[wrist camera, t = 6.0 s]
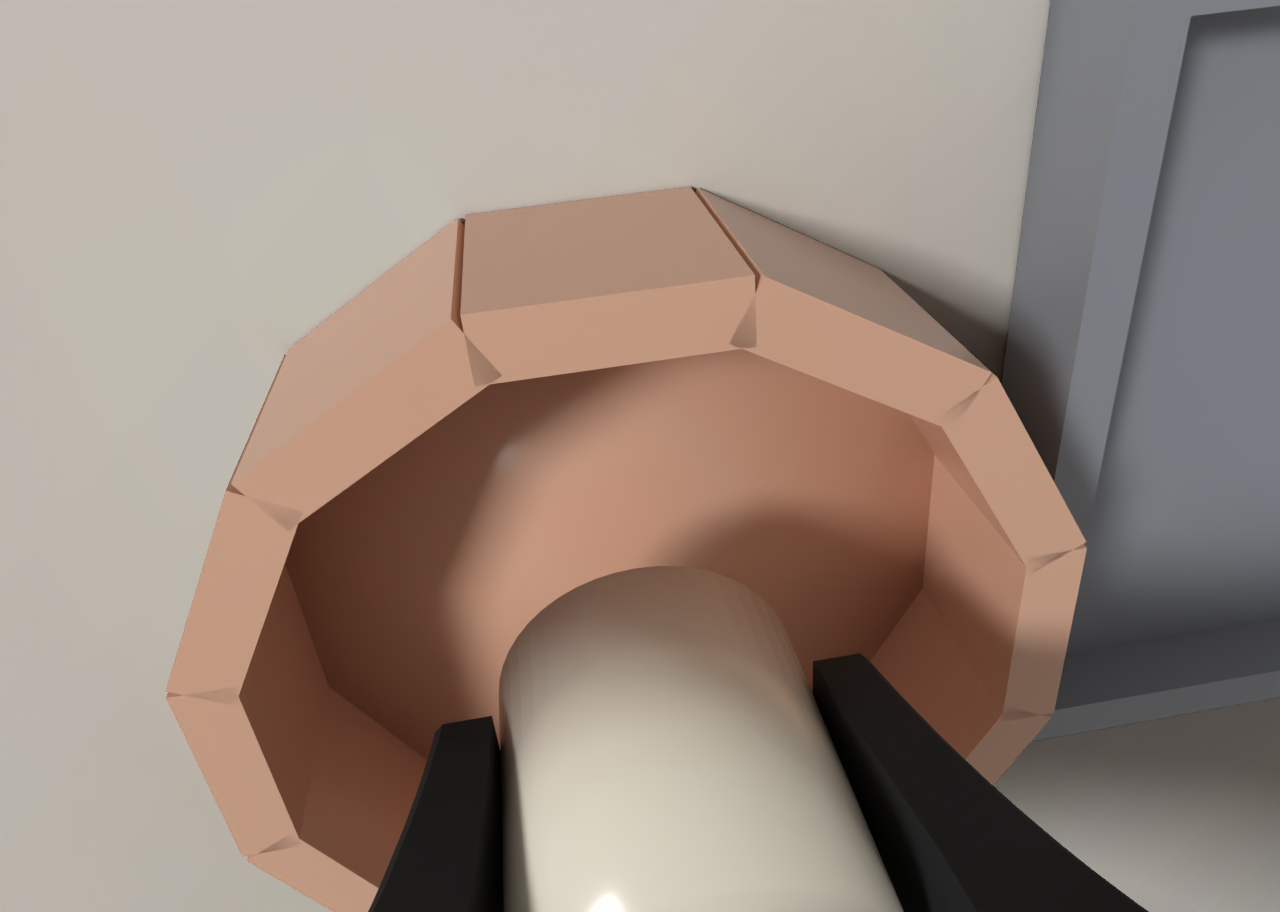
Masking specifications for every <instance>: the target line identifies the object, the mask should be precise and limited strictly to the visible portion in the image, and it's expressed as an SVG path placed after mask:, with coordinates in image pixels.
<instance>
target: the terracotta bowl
mask: <svg viewBox="0 0 1280 912" xmlns="http://www.w3.org/2000/svg"><path fill="white" fill-rule="evenodd" d="M1085 542H1086V540H1085V538H1084V537H1083V535H1082V533H1081V531H1080V529H1079V527H1078V525H1077V524H1076V522H1075V520H1074V518H1073V516H1072V514H1071V512H1070V511H1069V509H1068V507H1067V505H1066V503H1065V501H1064V500H1063V498H1062V496H1061V494H1060V492H1059V490H1058V488H1057V487H1056V485H1055V483H1054V481H1053V479H1052V477H1051V475H1050V474H1049V472H1048V470H1047V468H1046V466H1045V464H1044V463H1043V461H1042V459H1041V457H1040V455H1039V453H1038V451H1037V450H1036V448H1035V446H1034V444H1033V442H1032V440H1031V439H1030V437H1029V435H1028V433H1027V431H1026V429H1025V427H1024V426H1023V424H1022V422H1021V420H1020V418H1019V416H1018V414H1017V413H1016V411H1015V409H1014V407H1013V405H1012V403H1011V402H1010V400H1009V398H1008V396H1007V394H1006V392H1005V390H1004V389H1003V387H1002V385H1001V383H1000V381H999V379H998V378H997V377H996V376H995V375H994V374H993V373H992V372H991V371H990V370H989V369H988V368H987V367H986V366H984V365H983V364H982V363H981V362H980V361H979V360H978V359H977V358H976V357H975V356H974V355H973V354H971V353H970V352H969V351H968V350H967V349H966V348H965V347H964V346H963V345H962V344H961V343H960V342H959V341H957V340H956V339H955V338H954V337H953V336H952V335H951V334H950V333H949V332H948V331H947V330H946V329H944V328H943V327H942V326H941V325H940V324H939V323H938V322H937V321H936V320H935V319H934V318H933V317H931V316H930V315H929V314H928V313H927V312H926V311H925V310H924V309H923V308H922V307H921V306H920V305H918V304H917V303H916V302H915V301H914V300H913V299H912V298H911V297H910V296H909V295H908V294H907V293H905V292H904V291H903V290H902V289H901V288H900V287H899V286H898V285H897V284H896V283H895V282H894V281H892V280H891V279H890V278H889V277H888V276H887V275H886V274H885V273H884V272H883V271H881V270H880V269H879V268H877V267H874V266H872V265H870V264H868V263H865V262H863V261H861V260H859V259H857V258H854V257H852V256H850V255H848V254H845V253H843V252H841V251H839V250H836V249H834V248H832V247H830V246H827V245H825V244H823V243H821V242H819V241H816V240H814V239H812V238H810V237H807V236H805V235H803V234H801V233H798V232H796V231H794V230H792V229H790V228H787V227H785V226H783V225H781V224H778V223H776V222H774V221H772V220H769V219H767V218H765V217H763V216H760V215H758V214H756V213H754V212H752V211H749V210H747V209H745V208H743V207H740V206H738V205H736V204H734V203H731V202H729V201H727V200H725V199H722V198H720V197H718V196H716V195H714V194H711V193H709V192H707V191H705V190H702V189H700V188H697V190H696V192H694V191H693V190H692V188H691V187H690V186H689V187H681V188H673V189H665V190H657V191H649V192H641V193H633V194H625V195H617V196H609V197H601V198H594V199H586V200H578V201H570V202H562V203H554V204H546V205H538V206H530V207H522V208H514V209H507V210H499V211H491V212H483V213H475V214H467V215H465V225H464V224H463V223H462V222H461V221H460V219H459V218H457V219H456V220H454V221H453V222H452V223H451V224H449V225H448V226H447V227H445V228H444V229H443V230H442V231H440V232H439V233H438V234H436V235H435V236H434V237H433V238H431V239H430V240H429V241H427V242H426V243H425V244H424V245H422V246H421V247H420V248H418V249H417V250H416V251H415V252H413V253H412V254H411V255H409V256H408V257H407V258H405V259H404V260H403V261H402V262H400V263H399V264H398V265H396V266H395V267H394V268H393V269H391V270H390V271H389V272H387V273H386V274H385V275H384V276H382V277H381V278H380V279H378V280H377V281H376V282H375V283H373V284H372V285H371V286H369V287H368V288H367V289H366V290H364V291H363V292H362V293H360V294H359V295H358V296H357V297H355V298H354V299H353V300H351V301H350V302H349V303H348V304H346V305H345V306H344V307H342V308H341V309H340V310H338V311H337V312H336V313H335V314H333V315H332V316H331V317H329V318H328V319H327V320H326V321H324V322H323V323H322V324H320V325H319V326H318V327H317V328H315V329H314V330H313V331H311V332H310V333H309V334H308V335H306V336H305V337H304V338H302V339H301V340H300V341H299V342H297V343H296V344H295V345H293V346H292V347H291V348H290V349H289V350H288V352H287V354H286V355H284V358H283V360H282V362H281V365H280V367H279V369H278V372H277V374H276V376H275V379H274V381H273V383H272V385H271V388H270V390H269V392H268V395H267V397H266V399H265V402H264V404H263V406H262V408H261V411H260V413H259V415H258V418H257V420H256V422H255V425H254V427H253V429H252V432H251V434H250V436H249V438H248V441H247V443H246V445H245V448H244V450H243V452H242V455H241V457H240V459H239V461H238V464H237V466H236V468H235V471H234V473H233V475H232V478H231V480H230V482H229V484H228V487H227V489H226V492H225V495H224V498H223V502H222V505H221V508H220V512H219V515H218V518H217V522H216V525H215V528H214V532H213V535H212V538H211V542H210V545H209V548H208V552H207V555H206V558H205V562H204V565H203V568H202V572H201V575H200V578H199V582H198V585H197V588H196V592H195V595H194V598H193V601H192V605H191V608H190V611H189V615H188V618H187V621H186V625H185V628H184V631H183V635H182V638H181V641H180V645H179V648H178V651H177V655H176V658H175V661H174V665H173V668H172V671H171V675H170V678H169V681H168V685H167V688H166V691H165V692H168V694H167V697H166V699H167V701H168V703H169V705H170V707H171V709H172V711H173V713H174V716H175V718H176V720H177V722H178V724H179V726H180V728H181V730H182V732H183V734H184V736H185V738H186V740H187V743H188V745H189V747H190V749H191V751H192V753H193V755H194V757H195V759H196V761H197V763H198V765H199V767H200V769H201V772H202V774H203V776H204V778H205V780H206V782H207V784H208V786H209V788H210V790H211V792H212V794H213V796H214V799H215V801H216V803H217V805H218V807H219V809H220V811H221V813H222V815H223V817H224V819H225V821H226V823H227V825H228V828H229V830H230V832H231V834H232V836H233V838H234V840H235V842H236V844H237V846H238V848H239V850H240V852H241V854H242V857H243V856H248V858H247V861H248V862H250V863H251V864H253V865H255V866H256V867H258V868H260V869H261V870H263V871H265V872H267V873H268V874H270V875H272V876H273V877H275V878H277V879H278V880H280V881H282V882H283V883H285V884H287V885H289V886H290V887H292V888H294V889H295V890H297V891H299V892H300V893H302V894H304V895H306V896H307V897H309V898H311V899H312V900H314V901H316V902H317V903H319V904H321V905H323V906H324V907H326V908H328V909H329V910H331V911H333V912H368V911H369V909H370V907H371V904H372V902H373V900H374V898H375V896H376V893H377V891H378V889H379V887H380V884H381V882H382V879H383V877H384V875H385V872H386V870H387V867H388V865H389V862H390V860H391V858H392V855H393V853H394V850H395V848H396V845H397V843H398V841H399V838H400V836H401V833H402V831H403V828H404V826H405V823H406V820H407V818H408V815H409V812H410V809H411V807H412V804H413V801H414V799H415V796H416V793H417V790H418V787H419V784H420V781H421V778H422V775H423V772H424V769H425V766H426V763H427V759H428V756H429V753H430V749H431V745H432V742H433V738H434V734H435V732H436V731H437V730H438V729H439V727H440V726H441V725H442V724H447V723H453V722H459V721H464V720H470V719H476V718H482V717H488V716H492V718H493V722H494V727H495V731H496V735H497V739H498V744H499V748H500V737H499V680H500V676H501V671H502V667H503V664H504V662H505V659H506V657H507V654H508V652H509V650H510V648H511V647H512V645H513V643H514V642H515V640H516V638H517V637H518V635H519V634H520V633H521V632H522V630H523V629H524V628H525V627H526V625H527V624H528V623H529V622H530V621H531V620H532V619H533V618H534V617H535V616H536V615H537V614H538V613H539V612H540V611H541V610H543V609H544V608H545V607H547V606H548V605H549V604H551V603H552V602H553V601H555V600H556V599H557V598H559V597H560V596H562V595H564V594H566V593H567V592H569V591H571V590H573V589H574V588H576V587H578V586H581V585H583V584H585V583H587V582H590V581H592V580H594V579H597V578H600V577H603V576H606V575H609V574H612V573H616V572H621V571H625V570H630V569H635V568H644V567H653V566H680V567H688V568H697V569H701V570H706V571H710V572H714V573H717V574H720V575H723V576H726V577H728V578H731V579H733V580H735V581H737V582H739V583H741V584H743V585H745V586H747V587H748V588H750V589H751V590H753V591H754V592H755V593H757V594H758V595H759V596H761V597H762V598H763V599H764V600H765V601H766V602H767V603H768V604H769V605H770V606H771V607H772V608H773V610H774V611H775V612H776V614H777V615H778V617H779V618H780V619H781V621H782V623H783V625H784V627H785V629H786V632H787V634H788V636H789V638H790V641H791V643H792V646H793V648H794V650H795V653H796V655H797V658H798V660H799V662H800V665H801V667H802V669H803V672H804V674H805V677H806V679H807V681H808V684H809V686H810V689H811V691H812V693H813V661H818V660H823V659H829V658H835V657H841V656H847V655H853V654H859V653H860V654H861V655H863V656H864V657H866V658H867V659H868V660H869V661H870V662H871V663H872V664H873V665H874V667H875V668H876V669H877V670H878V671H879V672H880V673H881V674H882V675H883V676H884V677H885V679H886V680H887V681H888V682H889V683H890V684H891V685H892V686H893V687H894V688H895V689H896V690H897V691H898V693H899V694H900V695H901V696H902V697H903V698H904V699H905V700H906V701H907V702H908V703H909V704H910V705H911V706H912V707H913V708H914V709H915V710H916V711H917V712H918V713H919V714H920V715H921V716H922V717H923V718H924V720H925V721H926V722H927V723H928V724H929V725H930V726H931V727H932V728H933V729H934V730H935V731H936V732H937V733H938V734H939V735H940V736H941V737H942V738H943V739H944V740H945V741H946V742H947V743H948V744H949V745H950V746H951V747H953V748H954V749H955V750H956V751H957V752H958V753H959V754H960V755H961V756H962V757H963V758H964V759H965V760H966V761H967V762H968V763H969V764H970V765H972V766H973V767H974V768H975V769H976V770H977V771H978V772H979V773H980V774H981V775H982V776H983V777H984V778H985V779H986V780H987V781H989V782H990V783H991V784H992V785H994V784H995V783H996V782H997V780H998V779H999V778H1000V777H1001V776H1002V775H1003V774H1004V772H1005V771H1006V770H1007V769H1008V768H1009V767H1010V765H1011V764H1012V763H1013V762H1014V761H1015V760H1016V758H1017V757H1018V756H1019V755H1020V754H1021V753H1022V751H1023V750H1024V749H1025V748H1026V747H1027V746H1028V744H1029V743H1030V742H1031V741H1032V740H1033V739H1034V737H1035V736H1036V735H1037V734H1038V733H1039V732H1040V730H1041V729H1042V728H1043V727H1044V726H1045V725H1046V723H1047V722H1048V721H1049V720H1050V719H1051V717H1050V715H1049V713H1054V710H1055V705H1056V700H1057V695H1058V690H1059V685H1060V680H1061V675H1062V670H1063V665H1064V660H1065V655H1066V650H1067V645H1068V640H1069V635H1070V630H1071V625H1072V620H1073V615H1074V610H1075V605H1076V600H1077V596H1078V591H1079V586H1080V581H1081V576H1082V571H1083V566H1084V561H1085V556H1086V551H1087V547H1086V546H1085V545H1084V543H1085Z"/></svg>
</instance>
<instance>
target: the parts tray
mask: <svg viewBox="0 0 1280 912" xmlns="http://www.w3.org/2000/svg"><path fill="white" fill-rule="evenodd" d="M1001 385H1002V387H1003V389H1004V390H1005V392H1006V394H1007V396H1008V398H1009V400H1010V402H1011V403H1012V405H1013V407H1014V409H1015V411H1016V413H1017V414H1018V416H1019V418H1020V420H1021V422H1022V424H1023V426H1024V427H1025V429H1026V431H1027V433H1028V435H1029V437H1030V439H1031V440H1032V442H1033V444H1034V446H1035V448H1036V450H1037V451H1038V453H1039V455H1040V457H1041V459H1042V461H1043V463H1044V464H1045V466H1046V468H1047V470H1048V472H1049V474H1050V475H1051V477H1052V479H1053V481H1054V483H1055V485H1056V487H1057V488H1058V490H1059V492H1060V494H1061V496H1062V498H1063V500H1064V501H1065V503H1066V505H1067V507H1068V509H1069V511H1070V512H1071V514H1072V516H1073V518H1074V520H1075V522H1076V524H1077V525H1078V527H1079V529H1080V531H1081V533H1082V535H1083V537H1084V538H1085V540H1086V542H1085V543H1084V545H1085V546H1086V547H1087V551H1086V556H1085V561H1084V566H1083V571H1082V576H1081V581H1080V586H1079V591H1078V596H1077V600H1076V605H1075V610H1074V615H1073V620H1072V625H1071V630H1070V635H1069V640H1068V645H1067V650H1066V655H1065V660H1064V665H1063V670H1062V675H1061V680H1060V685H1059V690H1058V695H1057V700H1056V705H1055V710H1054V713H1049V715H1050V717H1051V719H1050V720H1049V721H1048V722H1047V723H1046V725H1045V726H1044V727H1043V728H1042V729H1041V730H1040V732H1039V733H1038V734H1037V735H1036V736H1035V737H1034V739H1033V740H1032V741H1038V740H1043V739H1049V738H1054V737H1060V736H1065V735H1071V734H1077V733H1082V732H1088V731H1093V730H1099V729H1104V728H1110V727H1116V726H1121V725H1127V724H1132V723H1138V722H1143V721H1149V720H1155V719H1160V718H1166V717H1171V716H1177V715H1182V714H1188V713H1194V712H1199V711H1205V710H1210V709H1216V708H1221V707H1227V706H1233V705H1238V704H1244V703H1249V702H1255V701H1260V700H1266V699H1272V698H1277V697H1280V0H1050V8H1049V16H1048V24H1047V32H1046V39H1045V47H1044V55H1043V63H1042V71H1041V78H1040V86H1039V94H1038V102H1037V110H1036V118H1035V125H1034V133H1033V141H1032V149H1031V157H1030V164H1029V172H1028V180H1027V188H1026V196H1025V204H1024V211H1023V219H1022V227H1021V235H1020V243H1019V251H1018V258H1017V266H1016V274H1015V282H1014V290H1013V297H1012V305H1011V313H1010V321H1009V329H1008V337H1007V344H1006V352H1005V360H1004V368H1003V376H1002V383H1001ZM1032 741H1031V742H1032Z"/></svg>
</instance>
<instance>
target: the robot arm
mask: <svg viewBox="0 0 1280 912" xmlns="http://www.w3.org/2000/svg"><path fill="white" fill-rule="evenodd" d="M813 696H814V698H815V700H816V703H817V705H818V708H819V710H820V712H821V715H822V717H823V720H824V722H825V724H826V727H827V729H828V732H829V734H830V736H831V739H832V741H833V743H834V746H835V748H836V751H837V753H838V755H839V758H840V760H841V763H842V765H843V767H844V770H845V772H846V775H847V777H848V779H849V782H850V784H851V786H852V789H853V791H854V794H855V796H856V798H857V801H858V803H859V806H860V808H861V810H862V813H863V815H864V817H865V820H866V822H867V825H868V827H869V829H870V832H871V834H872V837H873V839H874V841H875V844H876V846H877V849H878V851H879V853H880V856H881V858H882V860H883V863H884V865H885V868H886V870H887V872H888V875H889V877H890V880H891V882H892V884H893V887H894V889H895V891H896V894H897V896H898V899H899V901H900V903H901V906H902V908H903V911H904V912H1148V911H1147V910H1145V909H1144V908H1143V907H1141V906H1140V905H1138V904H1137V903H1136V902H1134V901H1133V900H1132V899H1130V898H1129V897H1128V896H1126V895H1125V894H1124V893H1122V892H1121V891H1120V890H1118V889H1117V888H1116V887H1114V886H1113V885H1112V884H1110V883H1109V882H1108V881H1106V880H1105V879H1104V878H1102V877H1101V876H1100V875H1098V874H1097V873H1096V872H1095V871H1093V870H1092V869H1091V868H1089V867H1088V866H1087V865H1086V864H1084V863H1083V862H1082V861H1081V860H1079V859H1078V858H1077V857H1076V856H1074V855H1073V854H1072V853H1071V852H1069V851H1068V850H1067V849H1066V848H1064V847H1063V846H1062V845H1061V844H1060V843H1058V842H1057V841H1056V840H1055V839H1053V838H1052V837H1051V836H1050V835H1049V834H1048V833H1046V832H1045V831H1044V830H1043V829H1042V828H1041V827H1039V826H1038V825H1037V824H1036V823H1035V822H1034V821H1032V820H1031V819H1030V818H1029V817H1028V816H1027V815H1025V814H1024V813H1023V812H1022V811H1021V810H1020V809H1018V808H1017V807H1016V806H1015V805H1014V804H1013V803H1012V802H1011V801H1009V800H1008V799H1007V798H1006V797H1005V796H1004V795H1003V794H1002V793H1000V792H999V791H998V790H997V789H996V788H995V787H994V786H993V785H992V784H991V783H990V782H989V781H987V780H986V779H985V778H984V777H983V776H982V775H981V774H980V773H979V772H978V771H977V770H976V769H975V768H974V767H973V766H972V765H970V764H969V763H968V762H967V761H966V760H965V759H964V758H963V757H962V756H961V755H960V754H959V753H958V752H957V751H956V750H955V749H954V748H953V747H951V746H950V745H949V744H948V743H947V742H946V741H945V740H944V739H943V738H942V737H941V736H940V735H939V734H938V733H937V732H936V731H935V730H934V729H933V728H932V727H931V726H930V725H929V724H928V723H927V722H926V721H925V720H924V718H923V717H922V716H921V715H920V714H919V713H918V712H917V711H916V710H915V709H914V708H913V707H912V706H911V705H910V704H909V703H908V702H907V701H906V700H905V699H904V698H903V697H902V696H901V695H900V694H899V693H898V691H897V690H896V689H895V688H894V687H893V686H892V685H891V684H890V683H889V682H888V681H887V680H886V679H885V677H884V676H883V675H882V674H881V673H880V672H879V671H878V670H877V669H876V668H875V667H874V665H873V664H872V663H871V662H870V661H869V660H868V659H867V658H866V657H864V656H863V655H861V654H860V653H859V654H853V655H847V656H841V657H835V658H829V659H823V660H818V661H813ZM368 912H503V868H502V810H501V767H500V748H499V744H498V739H497V735H496V731H495V727H494V722H493V718H492V716H488V717H482V718H476V719H470V720H464V721H459V722H453V723H447V724H442V725H441V726H440V727H439V729H438V730H437V731H436V732H435V734H434V738H433V742H432V745H431V749H430V753H429V756H428V759H427V763H426V766H425V769H424V772H423V775H422V778H421V781H420V784H419V787H418V790H417V793H416V796H415V799H414V801H413V804H412V807H411V809H410V812H409V815H408V818H407V820H406V823H405V826H404V828H403V831H402V833H401V836H400V838H399V841H398V843H397V845H396V848H395V850H394V853H393V855H392V858H391V860H390V862H389V865H388V867H387V870H386V872H385V875H384V877H383V879H382V882H381V884H380V887H379V889H378V891H377V893H376V896H375V898H374V900H373V902H372V904H371V907H370V909H369V911H368Z"/></svg>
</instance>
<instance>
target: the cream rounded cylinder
mask: <svg viewBox="0 0 1280 912" xmlns="http://www.w3.org/2000/svg"><path fill="white" fill-rule="evenodd" d="M499 737H500V767H501V810H502V868H503V912H904V911H903V908H902V906H901V903H900V901H899V899H898V896H897V894H896V891H895V889H894V887H893V884H892V882H891V880H890V877H889V875H888V872H887V870H886V868H885V865H884V863H883V860H882V858H881V856H880V853H879V851H878V849H877V846H876V844H875V841H874V839H873V837H872V834H871V832H870V829H869V827H868V825H867V822H866V820H865V817H864V815H863V813H862V810H861V808H860V806H859V803H858V801H857V798H856V796H855V794H854V791H853V789H852V786H851V784H850V782H849V779H848V777H847V775H846V772H845V770H844V767H843V765H842V763H841V760H840V758H839V755H838V753H837V751H836V748H835V746H834V743H833V741H832V739H831V736H830V734H829V732H828V729H827V727H826V724H825V722H824V720H823V717H822V715H821V712H820V710H819V708H818V705H817V703H816V700H815V698H814V696H813V693H812V691H811V689H810V686H809V684H808V681H807V679H806V677H805V674H804V672H803V669H802V667H801V665H800V662H799V660H798V658H797V655H796V653H795V650H794V648H793V646H792V643H791V641H790V638H789V636H788V634H787V632H786V629H785V627H784V625H783V623H782V621H781V619H780V618H779V617H778V615H777V614H776V612H775V611H774V610H773V608H772V607H771V606H770V605H769V604H768V603H767V602H766V601H765V600H764V599H763V598H762V597H761V596H759V595H758V594H757V593H755V592H754V591H753V590H751V589H750V588H748V587H747V586H745V585H743V584H741V583H739V582H737V581H735V580H733V579H731V578H728V577H726V576H723V575H720V574H717V573H714V572H710V571H706V570H701V569H697V568H688V567H680V566H653V567H644V568H635V569H630V570H625V571H621V572H616V573H612V574H609V575H606V576H603V577H600V578H597V579H594V580H592V581H590V582H587V583H585V584H583V585H581V586H578V587H576V588H574V589H573V590H571V591H569V592H567V593H566V594H564V595H562V596H560V597H559V598H557V599H556V600H555V601H553V602H552V603H551V604H549V605H548V606H547V607H545V608H544V609H543V610H541V611H540V612H539V613H538V614H537V615H536V616H535V617H534V618H533V619H532V620H531V621H530V622H529V623H528V624H527V625H526V627H525V628H524V629H523V630H522V632H521V633H520V634H519V635H518V637H517V638H516V640H515V642H514V643H513V645H512V647H511V648H510V650H509V652H508V654H507V657H506V659H505V662H504V664H503V667H502V671H501V676H500V680H499Z"/></svg>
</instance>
